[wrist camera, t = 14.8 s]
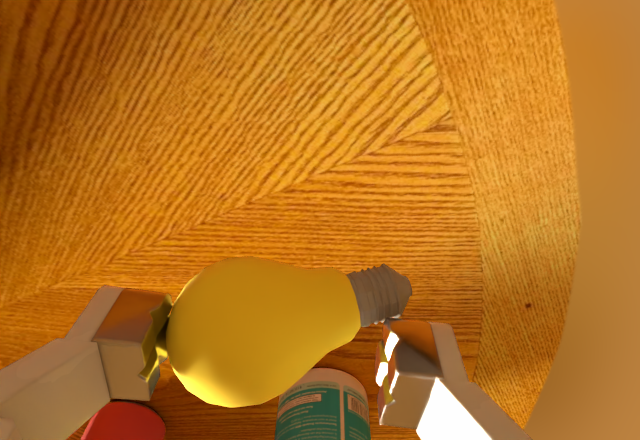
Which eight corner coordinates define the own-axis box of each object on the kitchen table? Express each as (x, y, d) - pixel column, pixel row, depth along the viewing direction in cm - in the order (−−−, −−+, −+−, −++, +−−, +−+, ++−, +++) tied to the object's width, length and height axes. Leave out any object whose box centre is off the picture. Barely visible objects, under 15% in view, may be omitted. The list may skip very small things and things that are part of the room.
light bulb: (160, 260, 11) (130, 319, 8) (375, 209, 12) (431, 242, 9) (194, 370, 12) (180, 467, 9) (392, 315, 13) (449, 383, 10)
